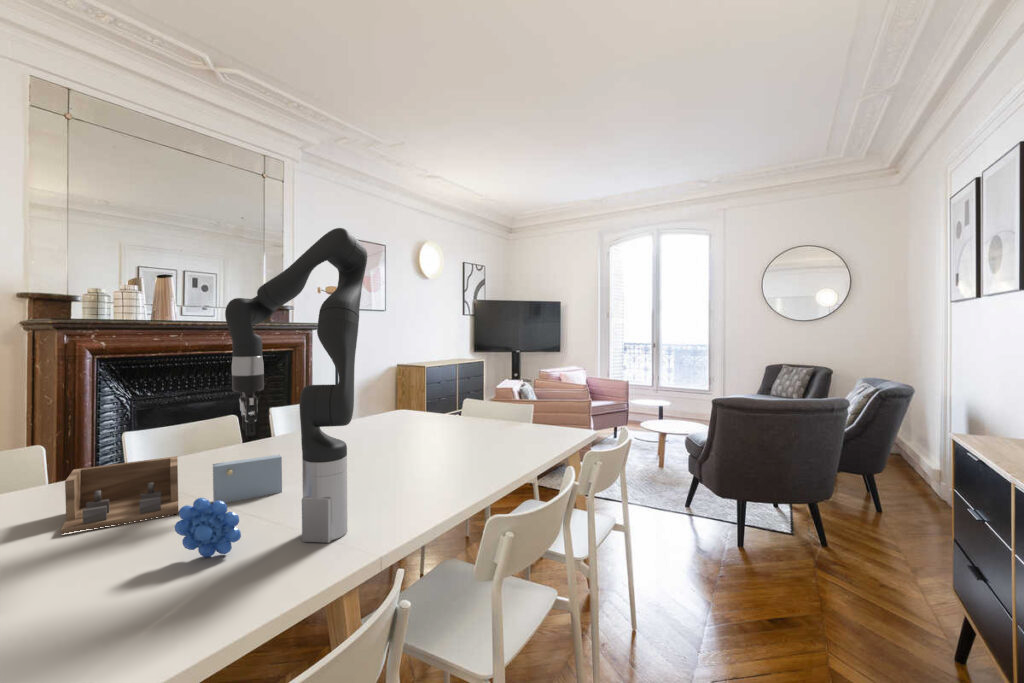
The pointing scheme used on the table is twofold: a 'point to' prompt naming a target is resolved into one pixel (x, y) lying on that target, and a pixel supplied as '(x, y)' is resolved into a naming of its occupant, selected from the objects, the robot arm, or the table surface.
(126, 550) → the table surface
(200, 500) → the blue flower
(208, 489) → the table surface
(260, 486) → the door
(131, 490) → the cabinet
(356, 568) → the table surface
